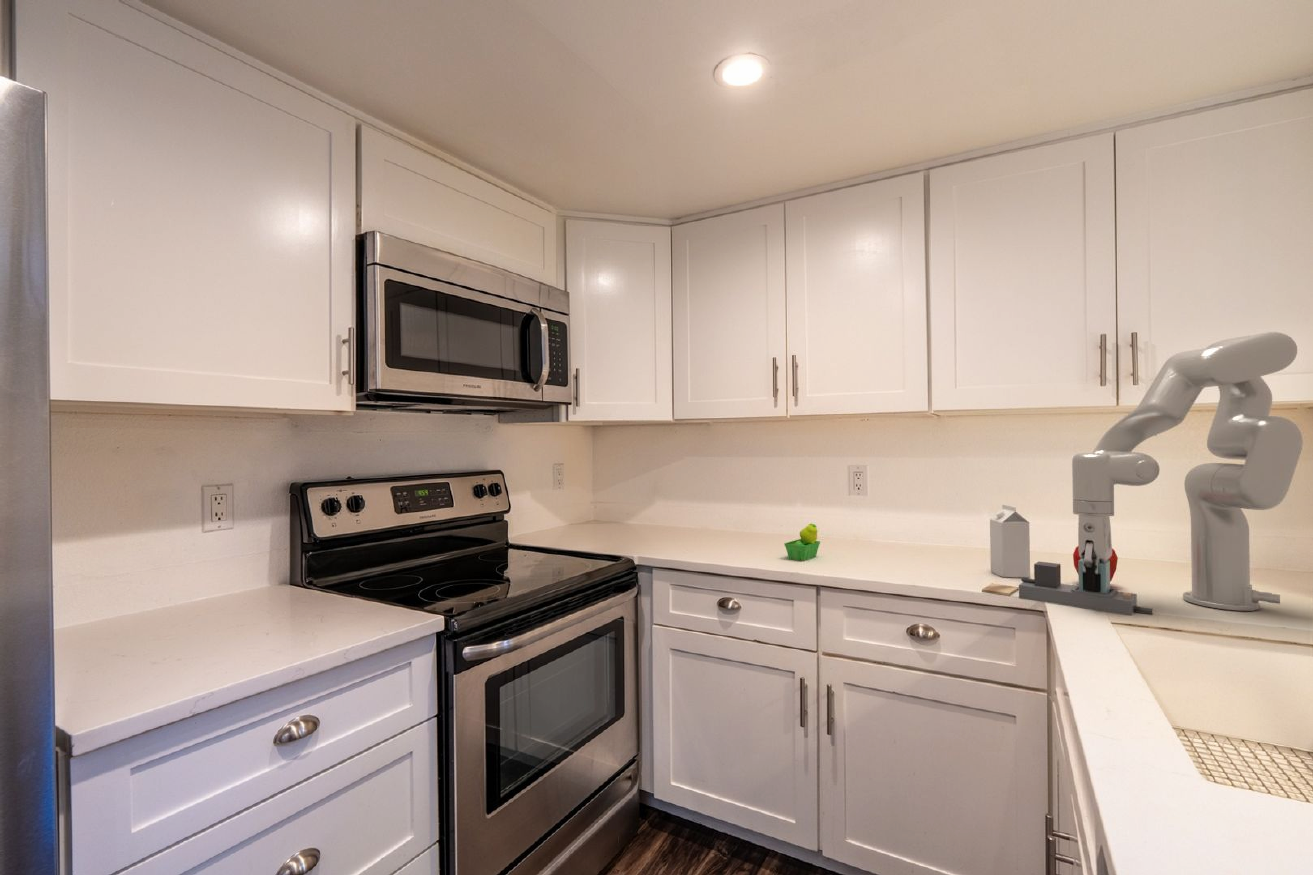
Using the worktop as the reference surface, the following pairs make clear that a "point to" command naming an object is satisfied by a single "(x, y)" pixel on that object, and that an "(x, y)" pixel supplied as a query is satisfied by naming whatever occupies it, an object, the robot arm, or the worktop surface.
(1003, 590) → the cork pad
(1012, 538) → the milk carton
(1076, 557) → the apple
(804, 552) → the fruit basket
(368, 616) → the worktop surface
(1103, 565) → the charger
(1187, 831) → the worktop surface
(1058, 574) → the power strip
